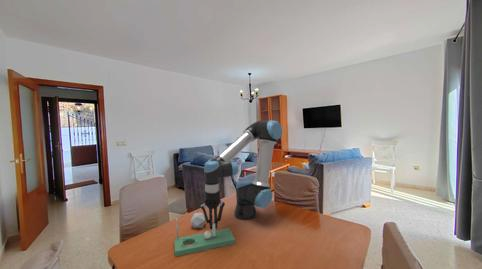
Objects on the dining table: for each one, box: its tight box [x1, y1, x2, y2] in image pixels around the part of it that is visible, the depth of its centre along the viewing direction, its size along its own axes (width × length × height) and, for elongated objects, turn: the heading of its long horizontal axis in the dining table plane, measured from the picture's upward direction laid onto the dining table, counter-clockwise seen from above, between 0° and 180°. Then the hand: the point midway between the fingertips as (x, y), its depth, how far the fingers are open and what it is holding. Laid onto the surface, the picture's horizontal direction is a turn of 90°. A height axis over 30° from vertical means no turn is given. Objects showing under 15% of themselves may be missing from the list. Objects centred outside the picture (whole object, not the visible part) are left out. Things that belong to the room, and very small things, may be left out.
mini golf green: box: [174, 217, 236, 258], centre depth 109 cm, size 30×12×14 cm, turn 108°
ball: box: [203, 230, 212, 239], centre depth 110 cm, size 4×4×4 cm
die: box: [190, 212, 206, 229], centre depth 127 cm, size 8×9×10 cm
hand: (213, 234), depth 111 cm, fingers closed
